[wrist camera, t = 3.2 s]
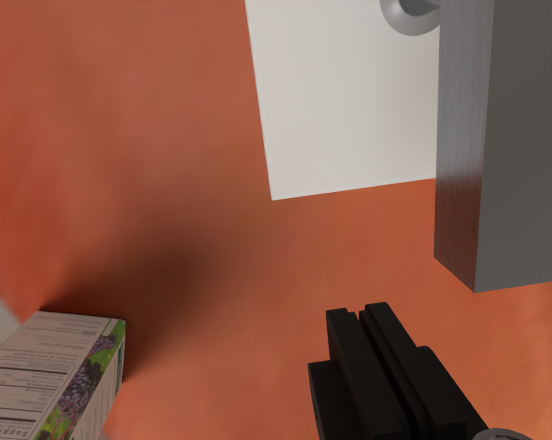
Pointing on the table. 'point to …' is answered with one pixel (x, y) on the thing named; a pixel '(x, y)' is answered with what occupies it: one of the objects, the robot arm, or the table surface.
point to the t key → (493, 140)
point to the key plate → (344, 93)
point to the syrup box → (60, 376)
